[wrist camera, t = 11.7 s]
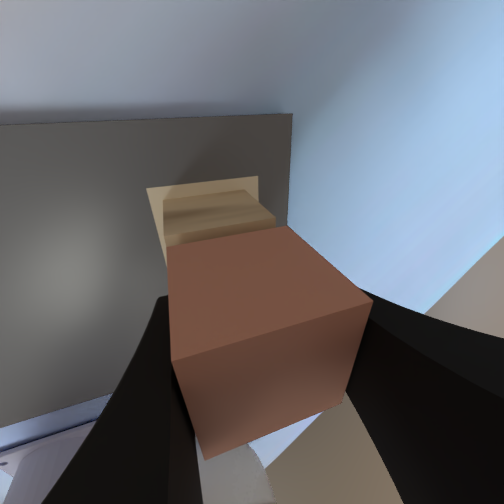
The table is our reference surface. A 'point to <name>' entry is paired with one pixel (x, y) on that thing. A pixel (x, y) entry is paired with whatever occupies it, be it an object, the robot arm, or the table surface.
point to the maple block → (213, 217)
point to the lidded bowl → (234, 478)
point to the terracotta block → (259, 333)
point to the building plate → (106, 238)
